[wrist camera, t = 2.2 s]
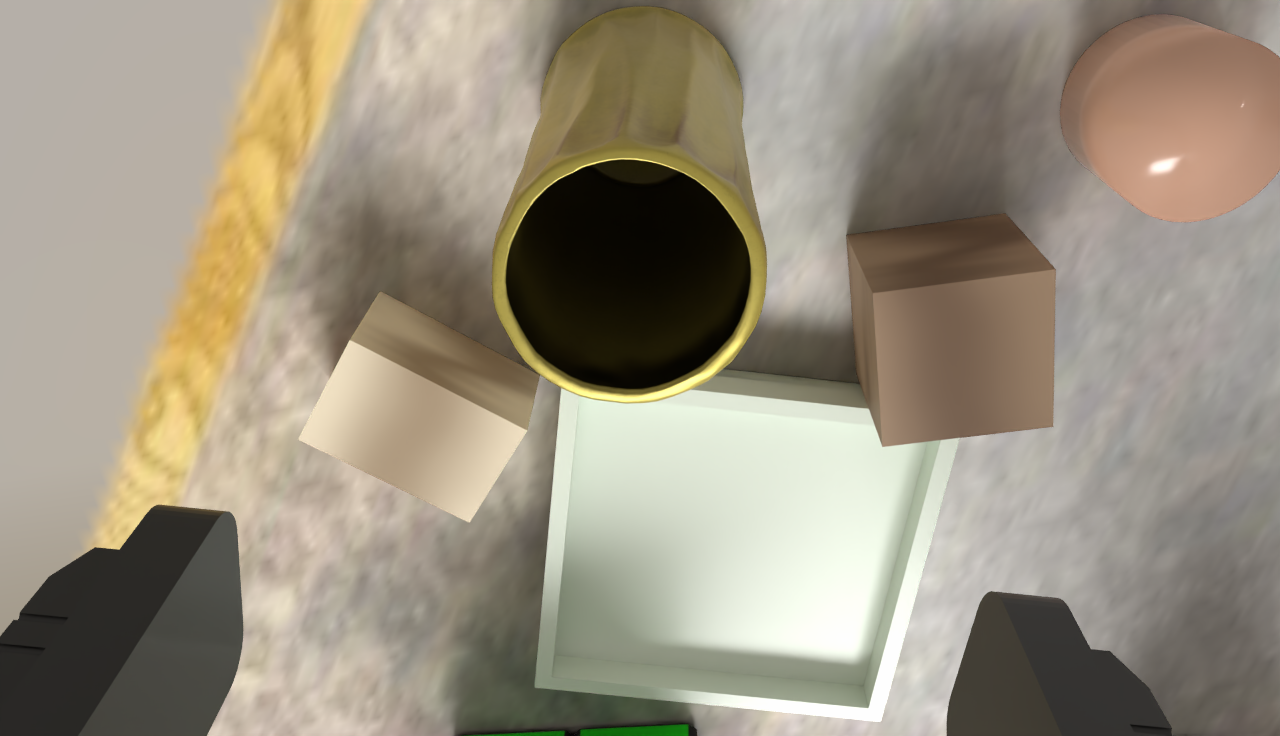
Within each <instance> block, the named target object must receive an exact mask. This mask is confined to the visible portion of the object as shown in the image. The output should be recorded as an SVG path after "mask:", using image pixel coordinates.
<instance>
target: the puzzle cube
mask: <svg viewBox="0 0 1280 736" xmlns="http://www.w3.org/2000/svg"><path fill="white" fill-rule="evenodd" d="M463 736H573V735H572V734H570V733H569V732H568V731H566V730H564V731H543V732H523V733H503V734H483V735H463ZM574 736H697V729H695V728H694V727H692V726H691V725H689V724H681V725H661V726H641V727H621V728H601V729H581V730H579V731H578V732H577V733H576V734H575V735H574Z"/></svg>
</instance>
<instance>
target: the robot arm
mask: <svg viewBox="0 0 1280 736" xmlns="http://www.w3.org/2000/svg"><path fill="white" fill-rule="evenodd" d="M242 642H243V614H242V598H241V582H240V567H239V551H238V535H237V526H236V521H235V518H234V516H233V515H232V513H230V512H226V511H216V510H206V509H197V508H187V507H177V506H167V505H156V506H154V507H153V508H151V509H150V510H149V512H148V513H147V514H146V515H145V517H144V518H143V519H142V521H141V522H140V523H139V525H138V526H137V527H136V529H135V530H134V531H133V533H132V534H131V535H130V537H129V538H128V539H127V541H126V542H125V543H124V545H123V546H122V547H121V549H120V550H116V549H106V548H96V547H95V548H94V549H92V550H90V551H89V552H87V553H86V554H84V555H82V556H81V557H79V558H78V559H76V560H75V561H73V562H71V563H70V564H68V565H67V566H65V567H63V568H62V569H60V570H59V571H57V572H56V573H54V574H52V575H51V576H50V577H48V579H47V580H46V581H45V582H44V584H43V585H42V586H41V587H40V588H39V590H38V591H37V592H36V593H35V595H34V596H33V597H32V598H31V600H30V601H29V602H28V603H27V604H26V606H25V607H24V608H23V609H22V610H21V612H20V616H19V619H18V620H13V621H12V623H11V624H10V625H9V626H8V628H7V629H6V630H5V631H4V633H3V634H2V635H1V636H0V736H207V734H208V732H209V730H210V728H211V726H212V724H213V722H214V720H215V718H216V716H217V714H218V712H219V710H220V708H221V706H222V704H223V702H224V700H225V698H226V696H227V694H228V692H229V690H230V688H231V686H232V683H233V681H234V678H235V675H236V672H237V668H238V664H239V660H240V655H241V649H242ZM1171 729H1172V728H1171V726H1170V724H1169V723H1168V721H1167V719H1166V717H1165V716H1164V714H1163V712H1162V710H1161V708H1160V707H1159V705H1158V703H1157V701H1156V700H1155V698H1154V696H1153V694H1152V693H1151V691H1150V689H1149V688H1148V687H1147V686H1146V685H1145V684H1144V683H1143V682H1142V681H1141V680H1140V679H1139V678H1138V677H1137V676H1136V675H1135V674H1133V673H1132V672H1131V671H1130V670H1129V669H1128V668H1127V667H1126V666H1125V665H1124V664H1123V663H1122V662H1121V661H1120V660H1119V659H1117V658H1116V657H1115V656H1114V655H1113V654H1112V653H1111V652H1110V651H1102V650H1092V649H1090V647H1089V645H1088V643H1087V641H1086V640H1085V638H1084V636H1083V634H1082V632H1081V630H1080V628H1079V626H1078V624H1077V622H1076V620H1075V619H1074V617H1073V615H1072V613H1071V611H1070V609H1069V607H1068V606H1067V604H1066V603H1065V602H1064V601H1063V600H1061V599H1059V598H1052V597H1042V596H1032V595H1022V594H1012V593H1002V592H992V591H991V592H988V593H987V594H986V595H985V596H984V597H983V599H982V600H981V602H980V605H979V607H978V610H977V613H976V617H975V620H974V623H973V626H972V629H971V633H970V636H969V639H968V642H967V645H966V649H965V652H964V655H963V658H962V661H961V665H960V668H959V671H958V674H957V677H956V681H955V684H954V687H953V690H952V693H951V697H950V701H949V706H948V713H947V736H1172V734H1171Z"/></svg>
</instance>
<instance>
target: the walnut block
mask: <svg viewBox="0 0 1280 736" xmlns="http://www.w3.org/2000/svg"><path fill="white" fill-rule="evenodd" d="M846 239H847V252H848V266H849V280H850V294H851V308H852V321H853V335H854V349H855V363H856V374H857V377H858V380H859V383H860V386H861V388H862V391H863V394H864V397H865V400H866V402H867V405H868V408H869V411H870V414H871V416H872V419H873V422H874V425H875V428H876V431H877V433H878V436H879V439H880V442H881V445H882V447H887V446H895V445H904V444H912V443H921V442H929V441H937V440H946V439H954V438H962V437H971V436H979V435H988V434H996V433H1004V432H1013V431H1021V430H1029V429H1038V428H1046V427H1053V402H1054V339H1055V276H1056V269H1055V268H1054V267H1053V266H1052V265H1051V264H1050V263H1049V261H1048V260H1047V259H1046V258H1045V257H1044V256H1043V255H1042V254H1041V253H1040V251H1039V250H1038V249H1037V248H1036V247H1035V246H1034V245H1033V244H1032V243H1031V241H1030V240H1029V239H1028V238H1027V237H1026V236H1025V235H1024V234H1023V233H1022V231H1021V230H1020V229H1019V228H1018V227H1017V226H1016V225H1015V224H1014V222H1013V221H1012V220H1011V219H1010V218H1009V217H1008V216H1007V215H1006V214H997V215H990V216H982V217H975V218H968V219H960V220H953V221H946V222H938V223H931V224H924V225H916V226H909V227H902V228H894V229H887V230H880V231H872V232H865V233H858V234H850V235H846Z"/></svg>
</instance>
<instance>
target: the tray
mask: <svg viewBox="0 0 1280 736" xmlns="http://www.w3.org/2000/svg"><path fill="white" fill-rule="evenodd" d="M959 439H960V438H954V439H946V440H937V441H929V442H921V443H912V444H904V445H895V446H887V447H882V445H881V442H880V439H879V436H878V433H877V431H876V428H875V425H874V422H873V419H872V416H871V414H870V411H869V408H868V405H867V402H866V400H865V397H864V394H863V391H862V388H861V386H860V384H857V383H848V382H838V381H829V380H820V379H811V378H802V377H793V376H783V375H774V374H765V373H756V372H747V371H737V370H728V369H722V370H721V371H720V372H719V373H717V374H716V375H715V376H714V377H712V378H711V379H710V380H709V381H707V382H705V383H703V384H701V385H699V386H697V387H695V388H693V389H691V390H689V391H686V392H684V393H681V394H678V395H676V396H673V397H670V398H667V399H664V400H660V401H657V402H649V403H630V404H625V403H616V402H608V401H600V400H593V399H589V398H585V397H581V396H578V395H576V394H573V393H571V392H569V391H566V390H564V389H562V388H561V397H560V408H559V419H558V430H557V441H556V452H555V463H554V475H553V486H552V497H551V508H550V519H549V530H548V541H547V553H546V564H545V575H544V586H543V597H542V608H541V619H540V630H539V642H538V653H537V664H536V675H535V686H534V688H543V689H553V690H563V691H573V692H583V693H593V694H604V695H614V696H624V697H634V698H644V699H654V700H664V701H674V702H684V703H694V704H704V705H715V706H725V707H735V708H745V709H755V710H765V711H775V712H785V713H795V714H805V715H816V716H826V717H836V718H846V719H856V720H866V721H876V722H881V720H882V716H883V713H884V709H885V705H886V702H887V698H888V695H889V691H890V687H891V684H892V680H893V677H894V673H895V669H896V666H897V662H898V659H899V655H900V651H901V648H902V644H903V641H904V637H905V633H906V630H907V626H908V623H909V619H910V616H911V612H912V608H913V605H914V601H915V598H916V594H917V590H918V587H919V583H920V580H921V576H922V572H923V569H924V565H925V562H926V558H927V554H928V551H929V547H930V544H931V540H932V536H933V533H934V529H935V526H936V522H937V518H938V515H939V511H940V508H941V504H942V501H943V497H944V493H945V490H946V486H947V483H948V479H949V475H950V472H951V468H952V465H953V461H954V457H955V454H956V450H957V447H958V443H959Z"/></svg>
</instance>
